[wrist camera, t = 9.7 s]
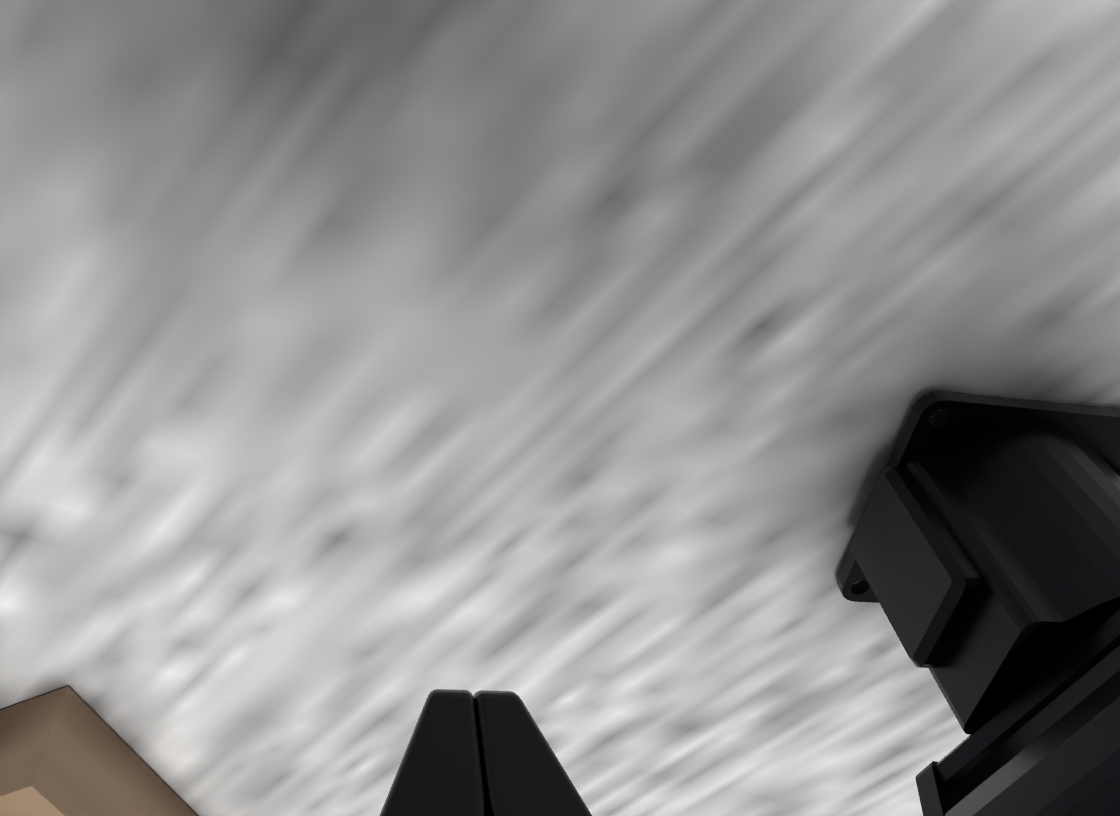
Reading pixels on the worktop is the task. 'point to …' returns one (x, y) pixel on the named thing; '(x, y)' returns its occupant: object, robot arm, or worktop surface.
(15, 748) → the brown tray
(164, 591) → the worktop surface
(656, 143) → the worktop surface
